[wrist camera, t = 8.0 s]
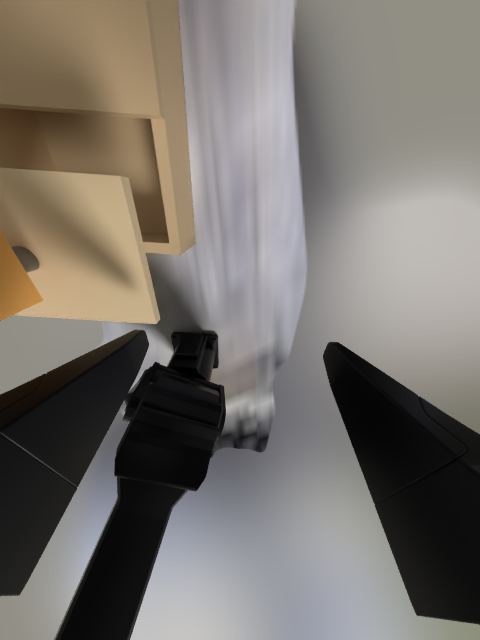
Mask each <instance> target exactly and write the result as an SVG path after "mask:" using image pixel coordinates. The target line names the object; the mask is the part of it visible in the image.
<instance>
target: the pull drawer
mask: <svg viewBox="0 0 480 640" xmlns="http://www.w3.org/2000/svg"><path fill="white" fill-rule="evenodd" d="M12 315H21V316H36V317H52V318H67V319H83V320H99V321H115V322H130V323H146V324H157V323H158V321H159V320H160V315H159V311H158V306H157V302H156V297H155V293H154V289H153V284H152V280H151V275H150V271H149V266H148V262H147V258H146V253H145V249H144V244H143V240H142V235H141V231H140V227H139V222H138V218H137V213H136V209H135V204H134V200H133V196H132V191H131V187H130V182H129V178H127V177H123V176H113V175H99V174H85V173H70V172H56V171H41V170H27V169H13V168H0V321H1V320H4V319H6V318H8V317H10V316H12Z"/></svg>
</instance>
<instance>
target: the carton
mask: <svg viewBox="0 0 480 640" xmlns="http://www.w3.org/2000/svg"><path fill="white" fill-rule="evenodd" d="M0 168H13V169H27V170H41V171H56V172H70V173H85V174H99V175H113V176H123V177H127V178H129V182H130V187H131V191H132V196H133V200H134V204H135V209H136V213H137V218H138V222H139V227H140V231H141V235H142V240H143V244H144V249H145V253H160V254H175V255H181V254H183V253H184V252H185V251H187V250H188V249H189V248H190V247H192V246H193V245H194V244H195V243H196V241H195V227H194V214H193V201H192V187H191V174H190V160H189V147H188V133H187V120H186V106H185V93H184V80H183V66H182V53H181V39H180V26H179V12H178V0H0Z"/></svg>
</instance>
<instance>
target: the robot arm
mask: <svg viewBox="0 0 480 640" xmlns="http://www.w3.org/2000/svg"><path fill="white" fill-rule="evenodd" d="M174 335H176V336H174ZM171 338H172V343H173V348H174V353H173V355H172V357H171V360H170V362H169V364H168V366H167V367H166V366H163V365H160V363H157V362H155V363H154V364H153V366H152V367H150V368H149V369H147V370H145V371H144V373H143V375H142V376H141V378H140V379H139V381H138V382H137V383H136V385H135V386H134V387H133V388H132V389H131V390H130V388H131V386H132V384H133V382H134V381H135V379H136V377H137V375H138V372H139V370H140V368H141V365H142V362H143V360H144V357H145V355H146V352H147V350H148V347H149V342H148V339H147V335H146V332H145V331H144V330H133V331H131V332H129V333H127V334H125V335H123V336H121V337H119V338H117V339H115V340H113V341H111V342H109V343H107V344H105V345H103V346H101V347H98V348H96V349H94V350H92V351H90V352H88V353H86V354H84V355H82V356H80V357H78V358H76V359H74V360H72V361H70V362H68V363H66V364H64V365H62V366H60V367H58V368H56V369H53V370H52V371H49V372H47V374H43V375H41V376H39V377H37V378H35V379H33V380H31V381H29V382H27V383H25V384H22V385H20V386H18V387H16V388H14V389H12V390H10V391H8V392H5V393H3V394H1V395H0V596H18V595H20V593H21V592H22V590H23V588H24V587H25V585H26V583H27V582H28V580H29V578H30V576H31V574H32V572H33V570H34V568H35V567H36V565H37V563H38V561H39V559H40V557H41V555H42V553H43V551H44V550H45V548H46V546H47V544H48V542H49V540H50V538H51V537H52V535H53V533H54V531H55V529H56V527H57V525H58V523H59V521H60V519H61V518H62V516H63V514H64V512H65V510H66V508H67V506H68V505H69V503H70V501H71V499H72V497H73V495H74V493H75V492H76V490H77V488H76V487H78V486H79V484H80V482H81V480H82V478H83V476H84V474H85V472H86V471H87V469H88V467H89V465H90V463H91V461H92V459H93V457H94V456H95V454H96V452H97V450H98V448H99V446H100V444H101V442H102V441H103V439H104V437H105V435H106V433H107V431H108V429H109V427H110V425H111V424H112V422H113V420H114V418H115V416H116V414H117V412H118V411H119V409H120V407H121V405H122V403H123V401H125V403H126V409H125V415H124V417H123V421H127V422H130V423H129V425H128V427H127V429H126V431H125V433H124V435H123V437H122V439H121V441H120V444H119V446H118V448H117V452H116V458H115V472H114V474H115V476H117V489H118V490H117V491H118V497H117V499H116V502H115V504H114V506H113V508H112V511H111V513H110V515H109V517H108V520H107V522H106V524H105V527H104V529H103V531H102V533H101V535H100V537H99V540H98V542H97V545H96V546H95V549H94V551H93V553H92V555H91V558H90V560H89V562H88V564H87V567H86V569H85V571H84V573H83V576H82V578H81V580H80V582H79V585H78V587H77V589H76V591H75V594H74V596H73V598H72V600H71V602H70V605H69V607H68V609H67V611H66V614H65V616H64V618H63V620H62V623H61V625H60V627H59V630H58V632H57V634H56V637H55V638H54V640H130V637H131V635H132V632H133V628H134V625H135V622H136V619H137V616H138V613H139V610H140V607H141V604H142V601H143V597H144V594H145V591H146V588H147V585H148V582H149V579H150V576H151V573H152V569H153V566H154V563H155V560H156V557H157V554H158V551H159V548H160V544H161V542H162V538H163V535H164V532H165V529H166V526H167V523H168V520H169V517H170V514H171V511H172V508H173V507H174V506H175V505H176V503H177V502H178V501H179V500H180V499H181V498H182V497H183V495H184V494H185V493H186V492H187V491H188V490H191V491H197V490H198V488H199V487H200V485H201V484H202V482H203V481H204V479H205V477H206V474H207V470H208V465H209V461H210V457H211V453H212V449H213V446H214V444H215V443H216V442H217V441H218V439H219V437H220V435H221V433H222V430H223V426H224V422H225V416H226V407H225V394H224V386H222V385H217V384H214V383H212V382H210V378H211V373H212V369H213V368H218V365H219V363H218V336H217V335H215V334H199V333H184V332H173V333H172V335H171ZM214 338H216V339H214ZM323 360H324V363H325V367H326V371H327V375H328V379H329V383H330V387H331V390H332V392H333V395H334V397H335V400H336V403H337V406H338V408H339V411H340V414H341V416H342V419H343V422H344V424H345V427H346V430H347V432H348V435H349V438H350V440H351V443H352V446H353V448H354V451H355V454H356V456H357V459H358V462H359V464H360V467H361V470H362V472H363V475H364V477H365V480H366V483H367V486H368V488H369V491H370V494H371V496H372V499H373V502H374V504H375V507H376V510H377V513H378V515H379V518H380V520H381V523H382V526H383V529H384V532H385V534H386V537H387V540H388V542H389V544H390V548H391V550H392V553H393V555H394V558H395V561H396V564H397V566H398V569H399V572H400V574H401V577H402V580H403V582H404V585H405V588H406V590H407V593H408V595H409V598H410V601H411V603H412V606H413V608H414V610H415V613H416V615H417V616H421V617H429V618H436V619H444V620H452V621H459V622H466V623H474V624H479V625H480V434H478V433H477V432H475V431H473V430H472V429H470V428H468V427H467V426H465V425H463V424H462V423H460V422H459V421H457V420H455V419H454V418H452V417H451V416H449V415H447V414H446V413H444V412H443V411H441V410H440V409H438V408H437V407H435V406H433V405H432V404H430V403H429V402H427V401H426V400H424V399H423V398H421V397H418V395H416V394H415V393H414V392H412V391H411V390H409V389H408V388H406V387H405V386H403V385H402V384H400V383H399V382H397V381H396V380H394V379H393V378H391V377H390V376H388V375H387V374H385V373H384V372H382V371H381V370H379V369H378V368H376V367H374V366H373V365H372V364H370V363H369V362H367V361H366V360H364V359H363V358H361V357H360V356H358V355H357V354H355V353H354V352H352V351H351V350H349V349H348V348H346V347H345V346H343V345H342V344H340V343H338V342H329V343H328V344H327V347H326V349H325V351H324V354H323ZM129 390H130V391H129ZM128 392H129V393H128Z"/></svg>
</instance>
